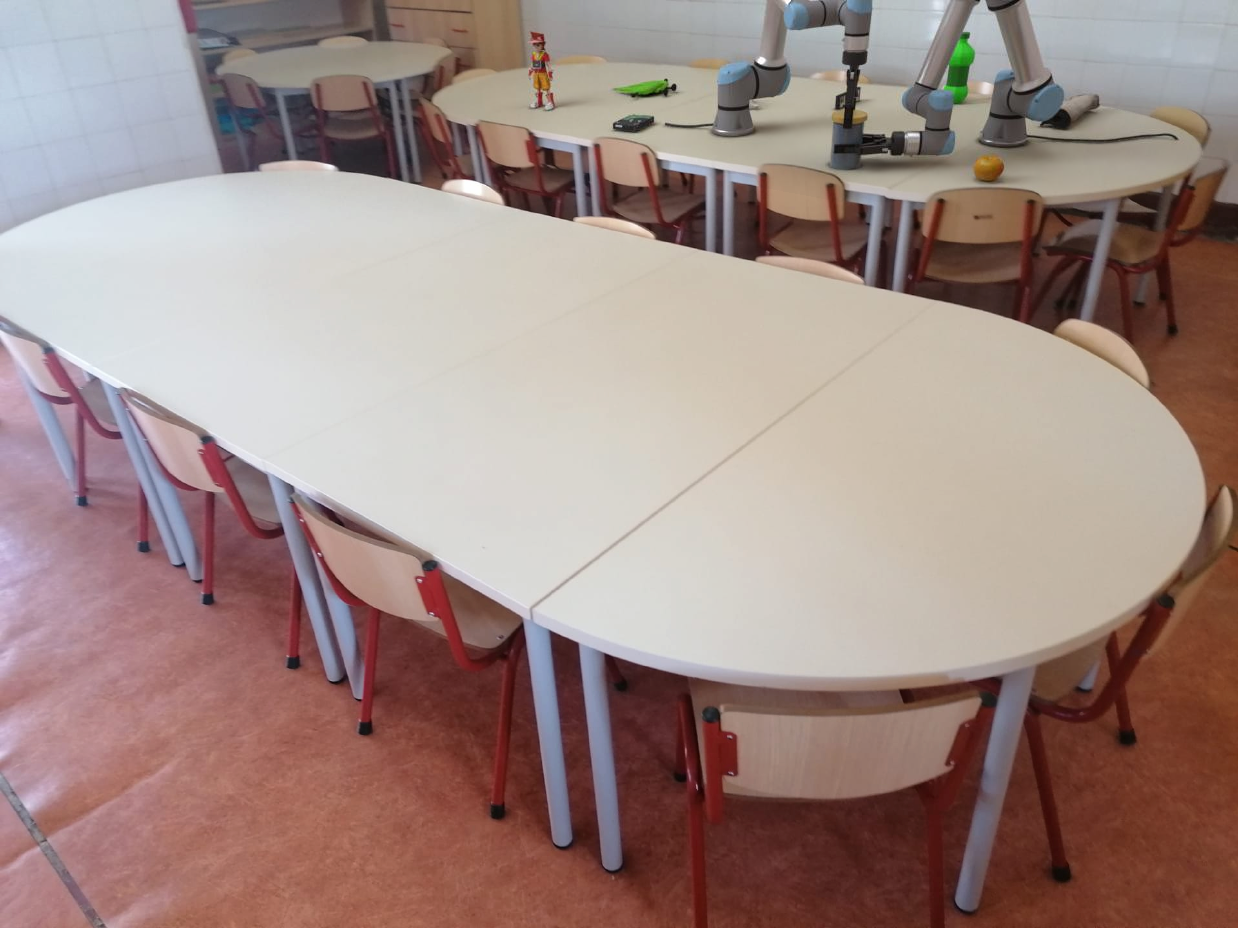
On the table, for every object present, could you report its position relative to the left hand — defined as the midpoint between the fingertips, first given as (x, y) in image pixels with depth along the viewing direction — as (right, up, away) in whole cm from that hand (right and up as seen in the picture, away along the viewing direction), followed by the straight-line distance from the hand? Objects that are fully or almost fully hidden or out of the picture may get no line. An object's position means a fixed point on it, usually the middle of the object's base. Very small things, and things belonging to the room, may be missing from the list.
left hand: (848, 123), depth 289 cm
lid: (0, +2, -2) cm, 3 cm away
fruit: (+39, -22, -12) cm, 47 cm away
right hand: (-4, -5, +4) cm, 8 cm away
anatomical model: (-23, +37, +78) cm, 90 cm away
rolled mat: (+90, +16, +38) cm, 99 cm away
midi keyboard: (+18, +35, +71) cm, 81 cm away
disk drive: (-68, +22, +61) cm, 94 cm away
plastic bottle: (+59, +34, +66) cm, 95 cm away
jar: (+1, -11, +8) cm, 13 cm away
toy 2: (-64, +55, +108) cm, 138 cm away
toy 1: (-107, +43, +94) cm, 149 cm away
